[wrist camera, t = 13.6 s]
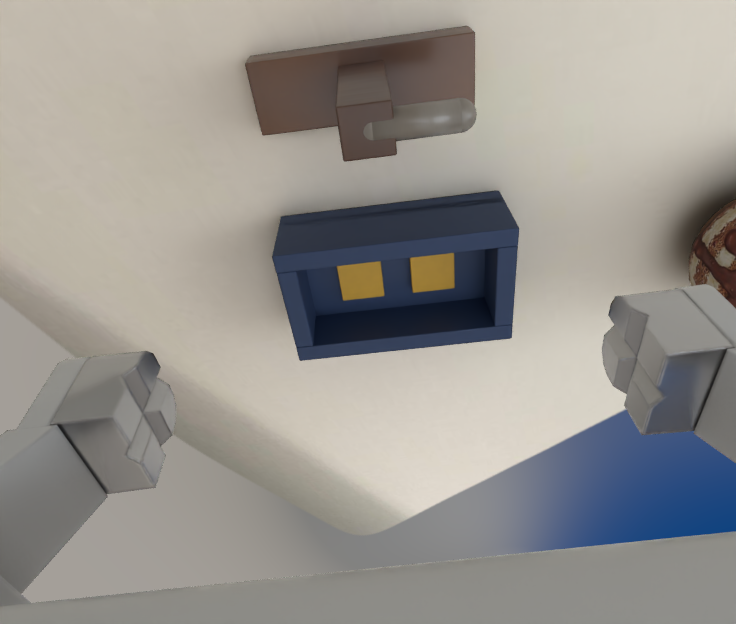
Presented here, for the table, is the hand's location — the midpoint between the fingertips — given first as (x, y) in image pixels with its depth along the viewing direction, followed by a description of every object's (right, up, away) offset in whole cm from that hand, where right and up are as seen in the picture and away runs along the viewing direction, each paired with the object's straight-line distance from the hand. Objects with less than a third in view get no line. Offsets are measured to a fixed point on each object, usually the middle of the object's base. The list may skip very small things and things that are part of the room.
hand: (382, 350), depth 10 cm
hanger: (-1, +12, +15) cm, 19 cm away
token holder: (+1, +4, +21) cm, 22 cm away
